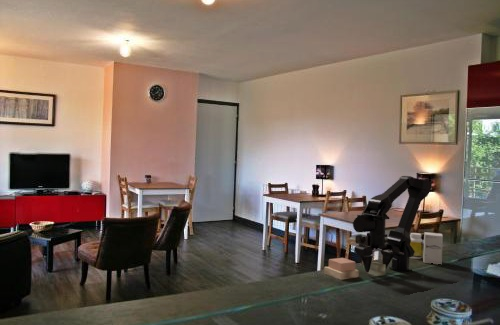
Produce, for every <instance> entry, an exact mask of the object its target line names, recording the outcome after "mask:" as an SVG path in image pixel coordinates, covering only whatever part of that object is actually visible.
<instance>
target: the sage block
mask: <svg viewBox="0 0 500 325" xmlns="http://www.w3.org/2000/svg"><path fill="white" fill-rule="evenodd" d="M386 270H387V268H386V265H385V264H382V262H377V261H372V262H371V266H370V270H369V272H368V273H367V272H366V271H365V273H366V274H369V275H371V276H374V277H380V276H385V275H386Z"/></svg>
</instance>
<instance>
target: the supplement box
mask: <svg viewBox="0 0 500 325" xmlns="http://www.w3.org/2000/svg"><path fill="white" fill-rule="evenodd" d="M443 239H444V236H443V233H437V232H429V231H428V232H426V231H424V236H423V254H422V261H423V263H424V264H431V263H433V265H438V264H441V265H442V262H443V261H442V260H443V242H444V240H443ZM441 265H440V266H441Z"/></svg>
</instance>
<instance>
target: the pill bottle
mask: <svg viewBox="0 0 500 325" xmlns="http://www.w3.org/2000/svg"><path fill="white" fill-rule="evenodd" d="M410 238H411V243H410V245H411V247H412V248H413V250H414V251H415V252H414V256H412V257H409V259H413V260H421V258H422V259H423V254H424V239H422V233H418V232H410Z"/></svg>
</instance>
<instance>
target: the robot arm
mask: <svg viewBox="0 0 500 325" xmlns="http://www.w3.org/2000/svg"><path fill="white" fill-rule="evenodd" d="M431 190H432V183H431V182H430V180H429V179H427V178H416V177H413V176H411V175H410V176H409V175H401V176H400V177H399V178H398V180H397V181H395V183H393V184H392V185H391V186H390V187H388V188H387V189H386V190H385V191H384V192H382V193H379V194H378V195H375V196H373V197H371V198H370V199H369V200H368V202H367V204H366V206H365V207H364V209H363V212H362V213H358V214H357V215H356V217H355V218H354V219H353V221H352V227H353V229H354V232H356V233H358V234H357V235H355V238H354V239H355V240H354V241H355V244H357V245H355V246H354V248H353V253H354V254H356V255H357V256H359V257H360V259H361V261H362V264H363V267H364V270H365V273H366V272H367V273H366V274H368V272H369V270H370V266H371V262H373V257H374V256H373V255H372V254H373V252H380V253H381V255H382V260H381V261H382V262H381V263H382V264H385V265H386V269H387V268H388V269H389V270H392V271H396V272H400V273H405V272H410V271H413V269H412V268H410V258H409V257H412V256H414V252H415V251H414V250H413V248H412V247H411V245H410V243H411V236H410V234H411V229H412V226H413V225H414V221H415V219H416V217H417V214H418V211H419V208H420V207H421V206H420V205H421V203H422V201H423V200H424V199H425V198H427V197H428V196H429V193H430V192H431ZM405 191H407V194H408V198H407V201H406V204H405V206H404V209H403V212H402V214H401V216H400V220H399V222H398V225H397V227H396V228H395V229H394V230H393V229H390V230H389V232H388V234H387V233H386V220H390V216H389V215H388V214H387V213H388V212H389V211H390V209H392V207H393V203H394V201H396V199H398V198H399V197H401V195H402V194H403V193H405ZM359 233H366V236H363V235H362V234H359ZM385 240H387V241H385ZM390 263H391V266H389V264H390ZM388 266H389V267H388Z"/></svg>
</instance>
